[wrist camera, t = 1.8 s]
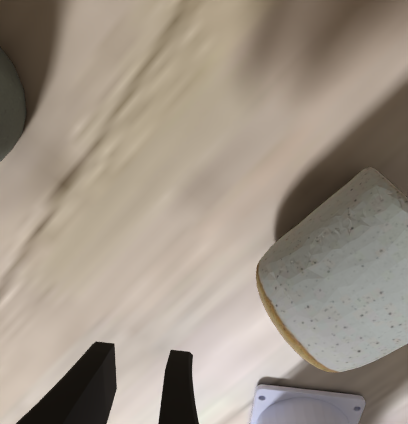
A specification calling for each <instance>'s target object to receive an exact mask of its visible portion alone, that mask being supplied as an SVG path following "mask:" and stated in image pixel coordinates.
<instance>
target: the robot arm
mask: <svg viewBox="0 0 408 424" xmlns="http://www.w3.org/2000/svg"><path fill="white" fill-rule="evenodd" d="M192 359H193V355H192V354H191V353H190V352H186V351H176V350H171V351H170V355H169V358H168V362H167V365H166V369H165V376H164V384H163V392H162V400H161V408H160V416H159V424H199V422H198V417H197V411H196V405H195V398H194V391H193V381H192ZM116 389H117V385H116V366H115V347H114V344H113V343H104V342H95V343H94V344H92V346H91V347H90V348H89V349H88V350H87V351H86V352H85V354H84V355H83V356H82V357H81V358H80V359H79V360H78V361H77V363H76V364H75V365H74V366H73V367H72V368H71V369H70V370H69V371H68V372H67V373H66V374H65V376H64V377H63V378H62V379H61V380H60V381H59V382H58V383H57V384H56V385H55V386H54V387H53V388H52V389H51V390H50V391H49V392H48V393H47V394H46V395H45V396H44V397H43V398H42V399H41V400H40V401H39V402H38V403H37V404H36V405H35V406H34V407H33V408H32V409H31V410H30V411H29V412H28V413H27V414H26V415H24V416H23V417H22V418H21V419H20V420H19V421H18V422H17V423H16V424H106V423H107V420H108V417H109V414H110V410H111V407H112V403H113V400H114V396H115V392H116ZM365 404H366V402H365V400H364V398H363V397H362V396H360V395H353V394H344V393H335V392H326V391H318V390H309V389H300V388H291V387H282V386H273V385H264V384H261V385H258V386H257V387H256V390H255V395H254V401H253V406H252V412H251V417H250V423H249V424H358V423H359V420H360V418H361V415H362V412H363V410H364V407H365Z"/></svg>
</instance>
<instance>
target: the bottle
mask: <svg viewBox="0 0 408 424" xmlns="http://www.w3.org/2000/svg"><path fill="white" fill-rule="evenodd" d="M25 118H26V105H25V96H24V89H23V87H22V84H21V82H20V79H19V77H18V74H17V72H16V69H15V67H14V65H13V63H12V62H11V61H10V59H9V58H8V57H7V55H6V54H5V53H4V51H3V50H2V49H1V47H0V161H2V160H3V159H4V157H5V156H6V155H7V154H8V153H9V152H10V151H11V150H12V149H13V147H14V145H15V144H16V142H17V141H18V139H19V138H20V136H21V135H22V132H23V127H24V122H25Z"/></svg>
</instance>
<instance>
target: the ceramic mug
mask: <svg viewBox="0 0 408 424" xmlns="http://www.w3.org/2000/svg"><path fill="white" fill-rule="evenodd" d="M256 281H257V288H258V292H259V295H260V298H261V300H262V303H263V305H264V307H265V310H266V312H267V313H268V315H269V317H270V319H271V320H272V322H273V323H274V325H275V326H276V328H277V330H278V331H279V332H280V334H281V335H282V336H283V338H284V339H285V340H286V342H287V343H288V344H289V345H290V346H291V347H292V348H293V349H294V350H295V351H296V352H297V353H298V354H299V355H300V356H301V357H302V358H303V359H305V360H306V361H307V362H309V363H310V364H311V365H313V366H315V367H317V368H319V369H321V370H323V371H326V372H335V373H337V372H343V371H348V370H351V369H355V368H359V367H361V366H364V365H366V364H369V363H371V362H374V361H376V360H378V359H380V358H382V357H384V356H386V355H388V354H389V353H391V352H393V351H395V350H397V349H399V348H401V347H402V346H404V345H407V344H408V198H407V197H406V196H405V195H404V194H403V193H402V192H401V191H400V190H399V189H397V188H396V187H395V186H394V185H393V184H392V183H391V182H390V181H389V180H388V179H387V178H385V177H384V176H383V175H382V174H381V173H380V172H378V171H377V170H375V169H374V168H372V167H368V168H365V169H363V170H362V171H361V172H360V173H359V174H357V175H356V176H355V177H354V178H353V179H352V180H350V181H349V182H348V183H347V184H346V185H344V186H343V187H342V188H341V189H340V190H338V191H337V192H336V193H335V194H333V195H332V196H331V197H330V198H328V199H327V200H326V201H325V202H324V203H322V204H321V205H320V206H319V207H318V208H317V209H315V210H314V211H313V212H312V213H311V214H310V215H308V216H307V217H306V218H305V219H304V220H303V221H301V222H300V223H299V224H298V225H297V226H295V227H294V228H293V229H291V230H290V231H289V232H287V233H286V234H285V235H283V236H282V237H281V238H280V239H279V240H278V241H277V242H276V243H275V244H274V245H272V246H271V247H270V249H269V250H268V251H267V252H266V254H265V255H264V256H263V257H262V258H261V260H260V261H259V263H258V265H257V271H256Z"/></svg>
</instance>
